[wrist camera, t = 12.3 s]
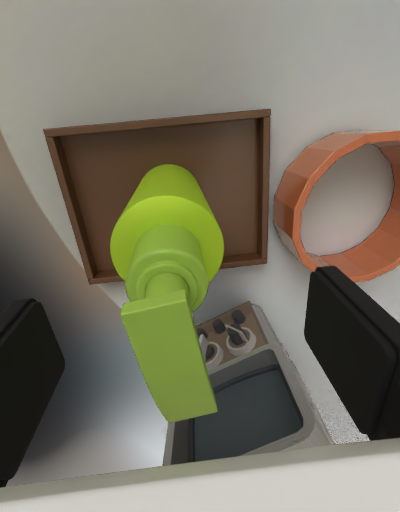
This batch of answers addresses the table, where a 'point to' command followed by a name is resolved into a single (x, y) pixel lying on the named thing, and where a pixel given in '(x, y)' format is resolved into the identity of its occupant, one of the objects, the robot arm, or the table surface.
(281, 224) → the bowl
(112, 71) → the table surface
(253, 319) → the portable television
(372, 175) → the table surface
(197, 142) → the tray
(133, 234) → the soap dispenser
